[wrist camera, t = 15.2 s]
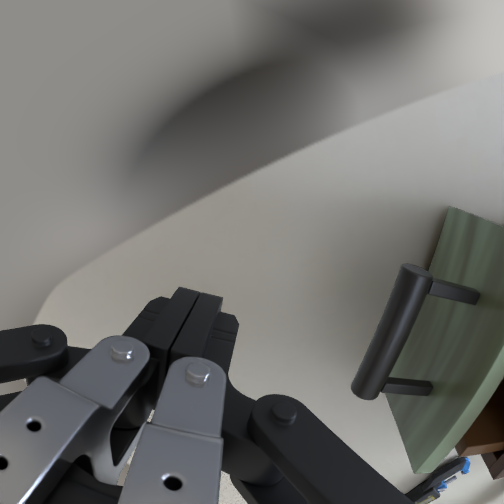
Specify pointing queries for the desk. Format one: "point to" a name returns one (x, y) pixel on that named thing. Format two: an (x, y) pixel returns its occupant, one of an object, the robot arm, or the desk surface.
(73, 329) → the desk surface
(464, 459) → the micrometer
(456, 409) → the drawer
